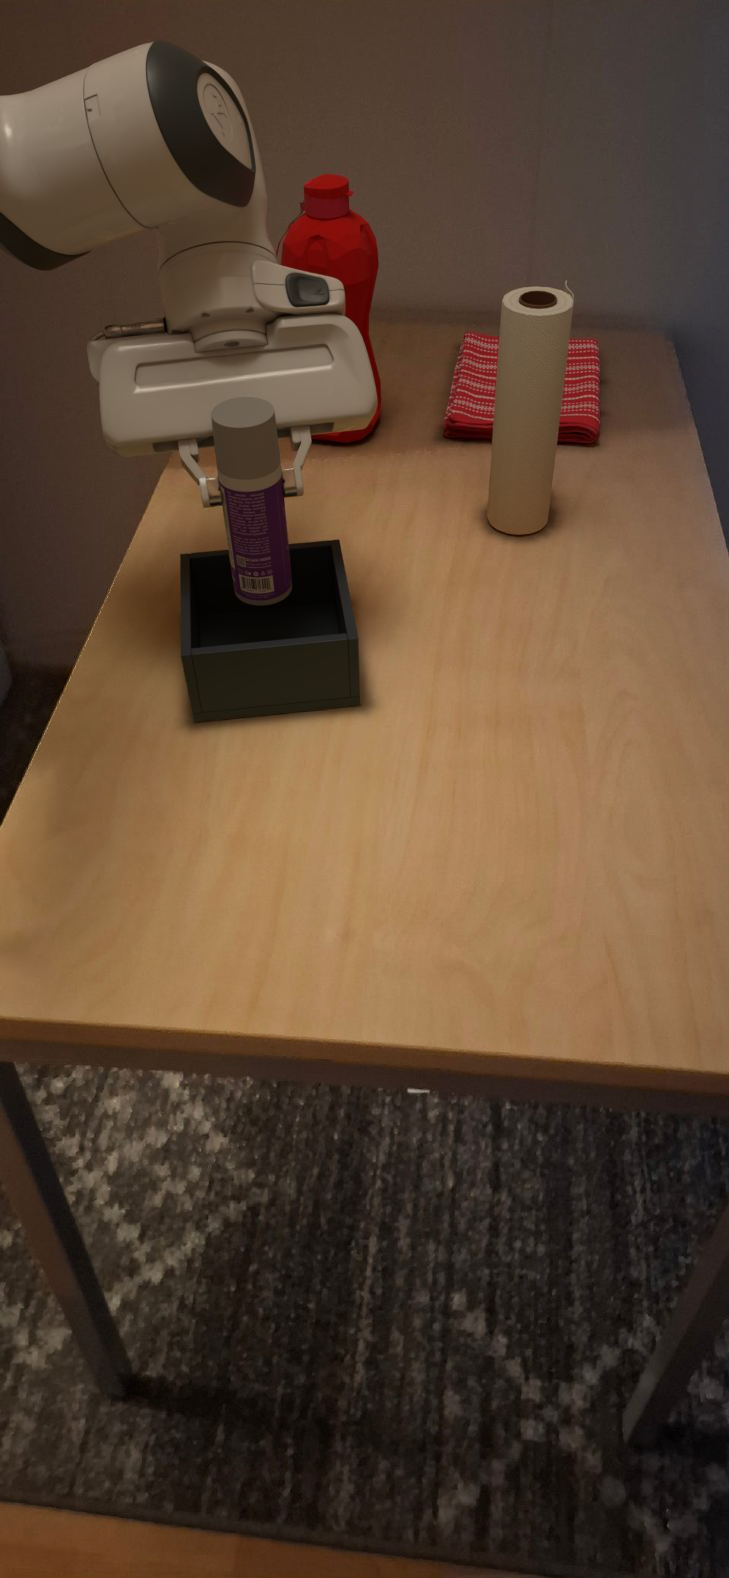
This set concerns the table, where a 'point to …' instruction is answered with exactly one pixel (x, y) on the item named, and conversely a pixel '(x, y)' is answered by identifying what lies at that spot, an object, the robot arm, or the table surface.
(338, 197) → the water bottle
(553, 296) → the paper towel roll
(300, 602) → the tub
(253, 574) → the container
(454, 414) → the dish towel
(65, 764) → the table surface
